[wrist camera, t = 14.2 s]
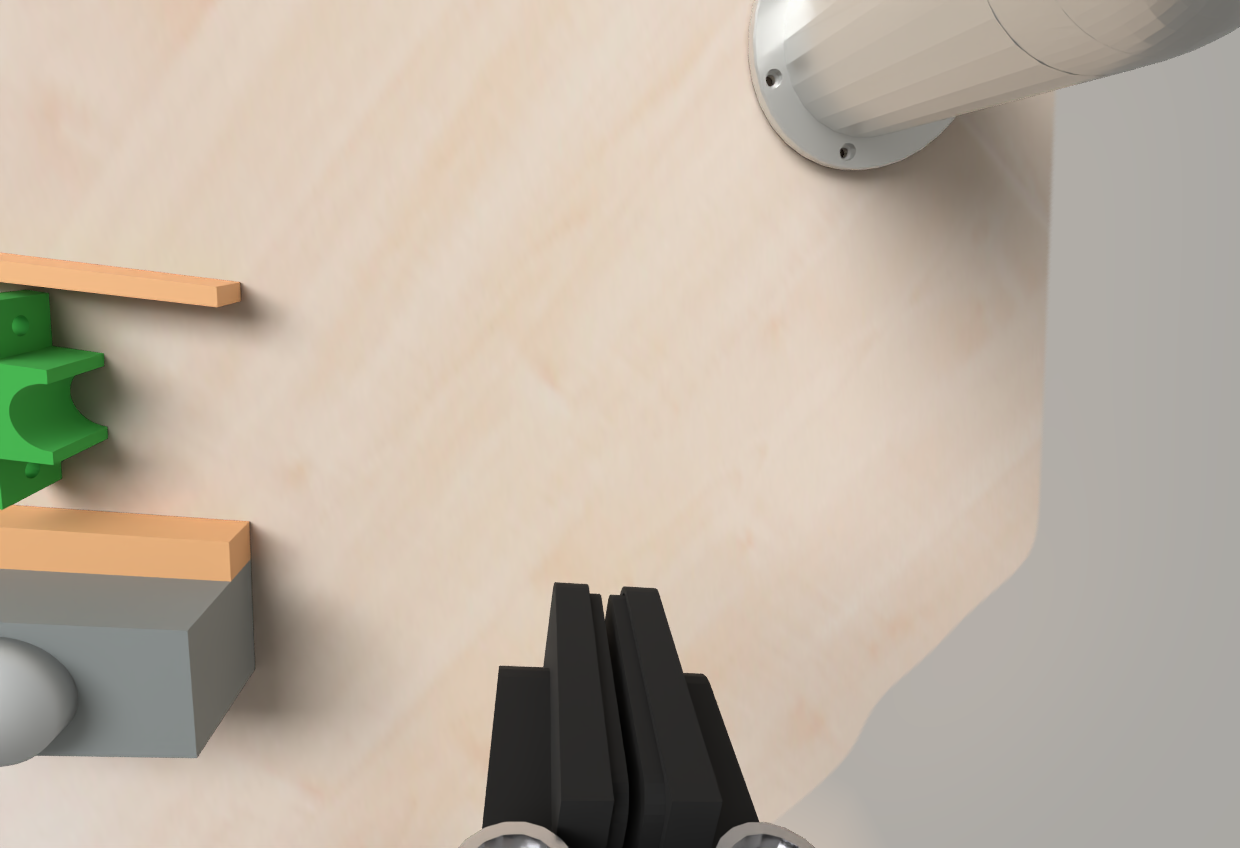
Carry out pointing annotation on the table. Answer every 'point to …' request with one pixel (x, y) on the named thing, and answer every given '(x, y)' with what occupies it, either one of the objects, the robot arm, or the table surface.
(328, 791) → the table surface
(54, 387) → the pipe clamp
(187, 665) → the orange and grey frame
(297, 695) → the table surface
